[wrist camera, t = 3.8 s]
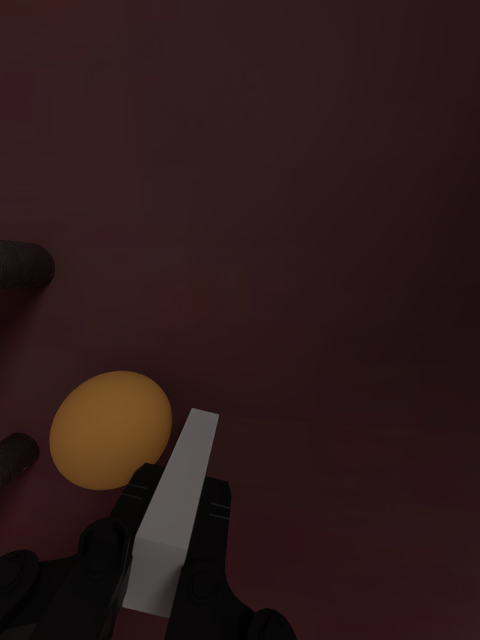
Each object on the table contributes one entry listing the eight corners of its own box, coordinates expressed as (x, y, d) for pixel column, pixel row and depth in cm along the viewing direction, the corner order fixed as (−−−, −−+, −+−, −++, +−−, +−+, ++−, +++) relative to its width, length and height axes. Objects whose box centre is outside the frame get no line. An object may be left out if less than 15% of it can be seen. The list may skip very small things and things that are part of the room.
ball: (197, 391, 12) (153, 350, 16) (57, 425, 8) (44, 361, 12) (184, 484, 13) (146, 425, 17) (56, 550, 10) (44, 455, 14)
